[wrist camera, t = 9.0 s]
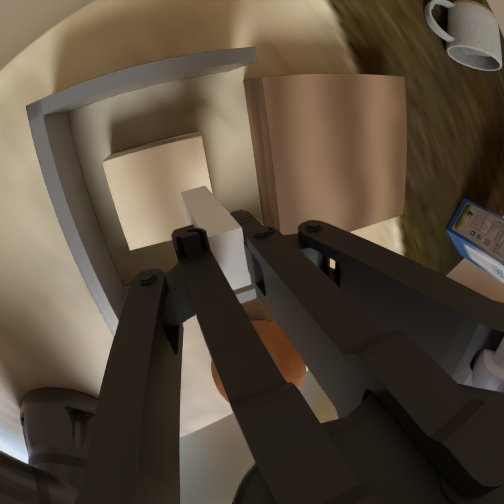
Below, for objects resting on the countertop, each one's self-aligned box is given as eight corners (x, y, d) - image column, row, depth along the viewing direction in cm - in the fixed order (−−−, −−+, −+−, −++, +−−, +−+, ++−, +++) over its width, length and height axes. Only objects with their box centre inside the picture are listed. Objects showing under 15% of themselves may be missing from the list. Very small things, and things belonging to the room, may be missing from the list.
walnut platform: (264, 233, 28) (282, 253, 25) (243, 80, 21) (261, 77, 18) (378, 201, 32) (403, 214, 28) (376, 76, 24) (404, 77, 21)
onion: (248, 372, 37) (278, 433, 29) (184, 351, 32) (205, 425, 24) (298, 319, 36) (341, 378, 27) (236, 288, 30) (276, 358, 22)
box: (117, 297, 26) (116, 341, 21) (52, 105, 17) (25, 106, 12) (257, 254, 29) (283, 288, 24) (227, 59, 20) (254, 46, 15)
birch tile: (134, 233, 24) (130, 250, 22) (111, 154, 20) (102, 162, 18) (214, 213, 25) (219, 228, 22) (198, 131, 21) (201, 136, 19)
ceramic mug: (465, 22, 24) (508, 24, 17) (465, 69, 27) (509, 75, 21) (420, -14, 20) (468, -20, 14) (419, 37, 24) (472, 37, 17)
